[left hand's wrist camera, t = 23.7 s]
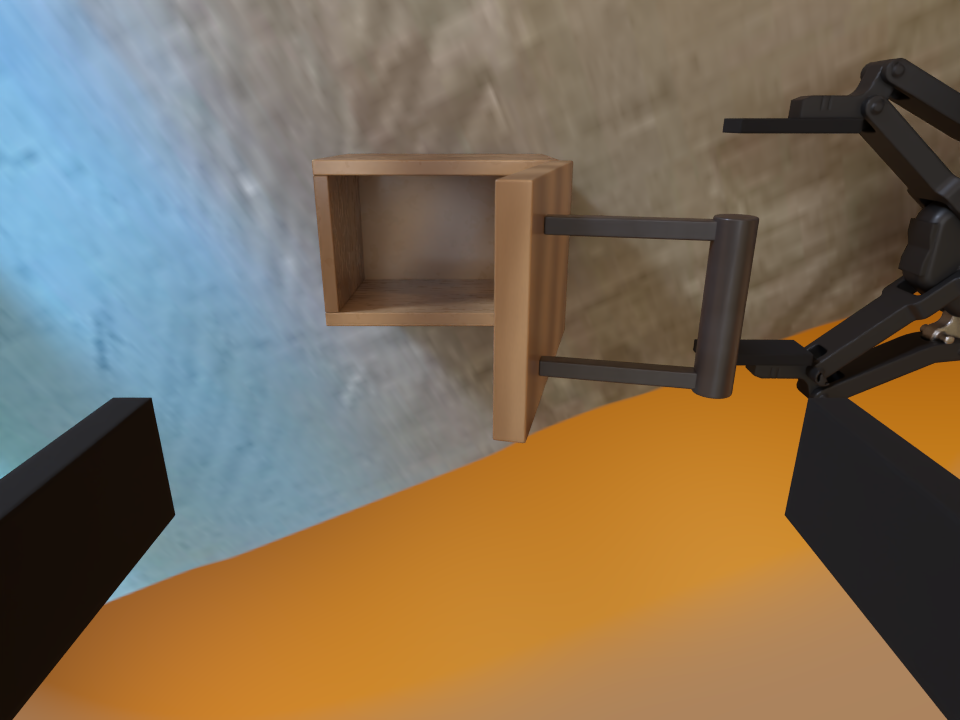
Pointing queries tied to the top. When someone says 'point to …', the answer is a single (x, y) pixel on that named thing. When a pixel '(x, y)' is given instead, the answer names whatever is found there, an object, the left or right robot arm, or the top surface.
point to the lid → (543, 284)
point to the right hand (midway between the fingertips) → (714, 246)
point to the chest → (410, 236)
